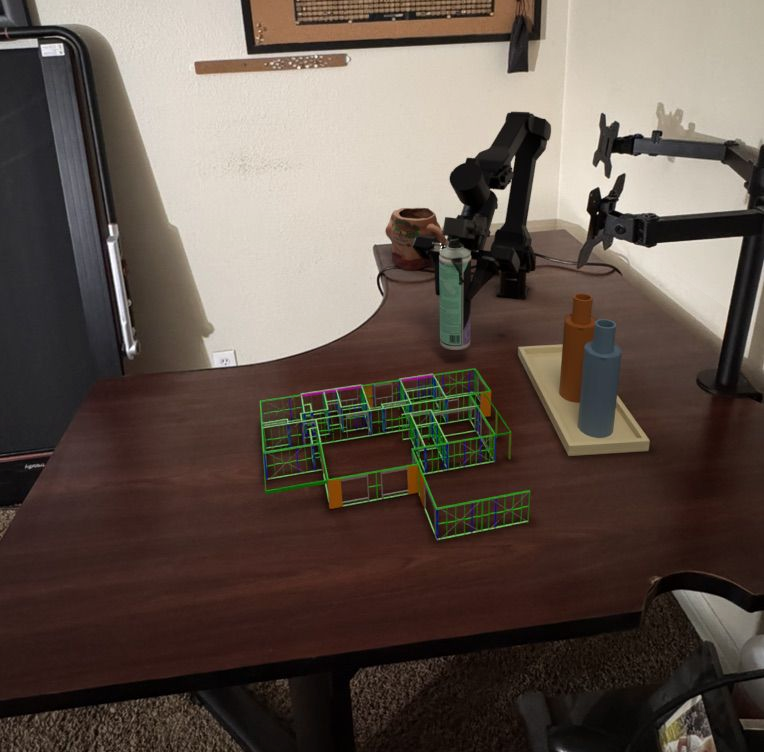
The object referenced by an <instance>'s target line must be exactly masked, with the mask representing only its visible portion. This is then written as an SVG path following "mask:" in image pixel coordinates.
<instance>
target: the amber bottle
mask: <svg viewBox="0 0 764 752" xmlns="http://www.w3.org/2000/svg"><path fill="white" fill-rule="evenodd" d="M593 300H594V297H593V295H591V294H589V293H581V292H580V293H579V292H578V293H575V294H574V295H573V300H572V312H571V313H570V314H567V315H566V316H564V321H563V335H562V344H563V347H562V361H561V375H560V389H559V394H560V396H561V397H562V398H563V399H565V400H567V401H570V402H575V403H580V394H581V382H582V371H583V359H584V348H585V345H586V344H587V343H588V342H590V341H593V338H594V327H595V321H597V320H598V319H597V318H596V317H595V316H594V315H593V316H592V311H593Z"/></svg>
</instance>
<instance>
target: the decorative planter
mask: <svg viewBox="0 0 764 752" xmlns="http://www.w3.org/2000/svg"><path fill="white" fill-rule="evenodd" d="M437 218H438V217H437V215H436V213H435V211H433V210H431V209H430V208H428V207H427V208H426V207H401V208H398V209H395V210H393V212H392V213H391V214H390V219H389V221H388V223H387V225H386V227H385V232H384V233H385V235H386V237H387V238H388V239H389V240H390V242H391V258H392V259H391V260H392V262H393V264H394V265H395V266H396V267H397V268H399V269H401V270H405V271H416V270H421V269H424V268H427V267H428V266H430V265H431V264H432V263H433V262H432V261H430V260H424V259H422V258H421V257H420V256H419V255H418V254H417V252H416V251H415V250H414V248H413V247H412V245H413V242H414V239H415V238H416V237H417V236H418V235H419V234H421V235H428V236H436V237H437V238H438V240H439V241H440V243H441V244H445V245H446V244H447V243H446V242H447V237H446V235H445V236H444V235H442V233H443V229H442V227H441V225H440V223H439V222H438V219H437Z"/></svg>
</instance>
